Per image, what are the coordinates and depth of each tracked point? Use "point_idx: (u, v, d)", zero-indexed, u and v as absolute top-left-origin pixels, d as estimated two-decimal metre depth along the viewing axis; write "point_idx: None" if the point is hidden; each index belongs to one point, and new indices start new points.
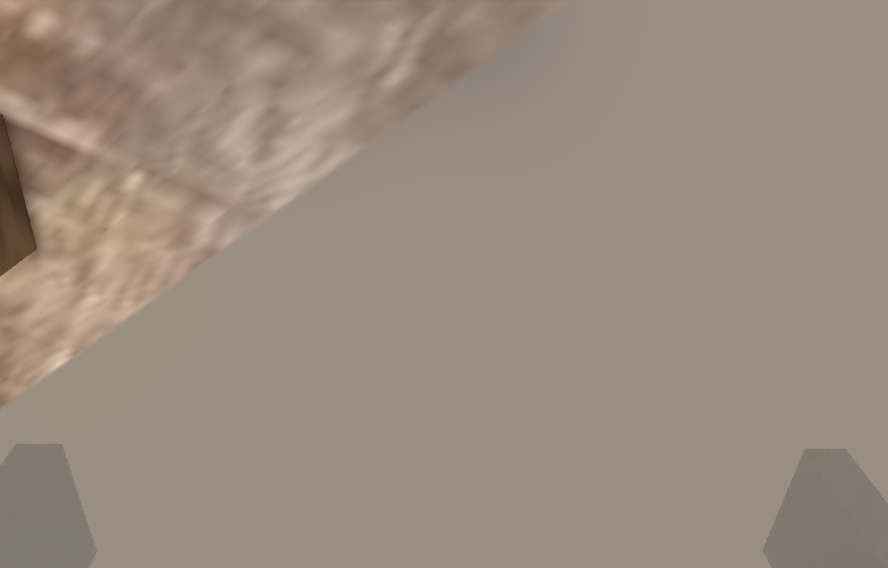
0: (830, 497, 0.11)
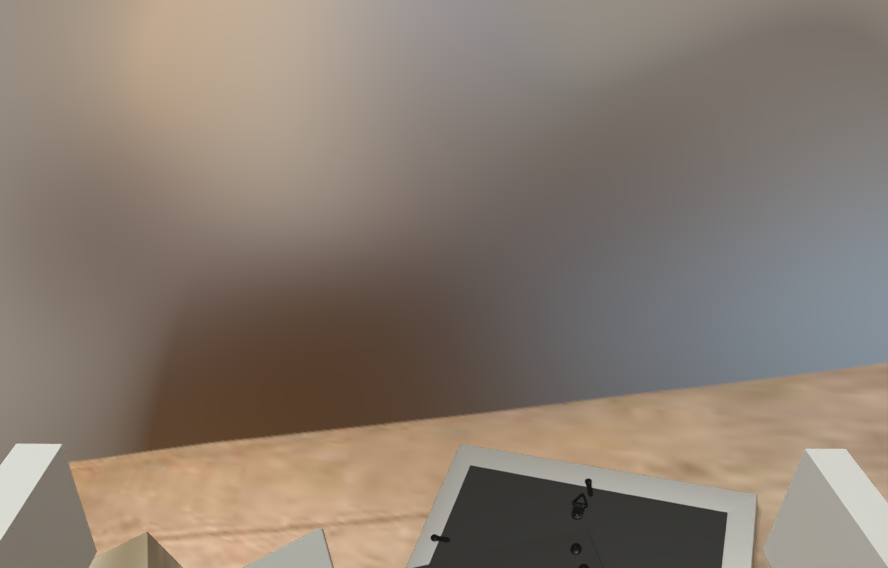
0: (830, 497, 0.11)
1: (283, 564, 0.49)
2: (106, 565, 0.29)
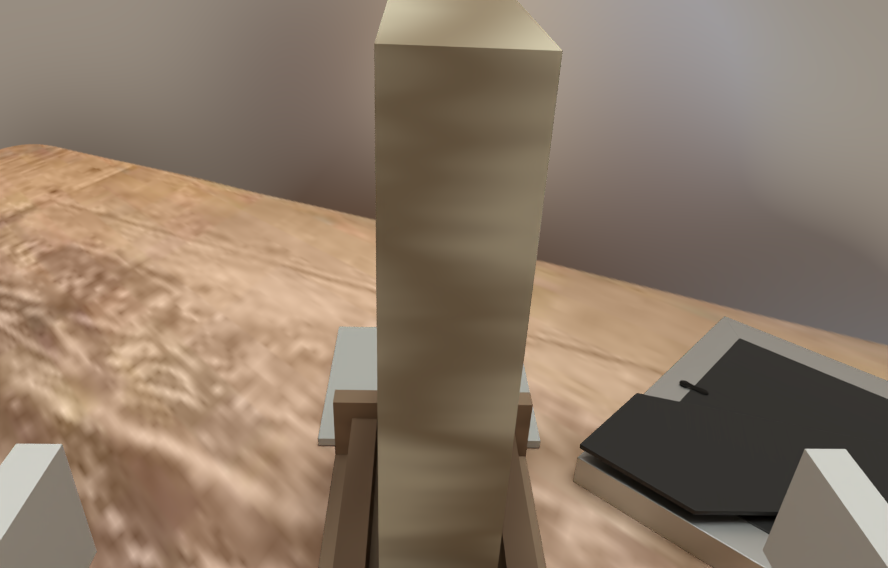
0: (829, 497, 0.11)
1: None
2: None
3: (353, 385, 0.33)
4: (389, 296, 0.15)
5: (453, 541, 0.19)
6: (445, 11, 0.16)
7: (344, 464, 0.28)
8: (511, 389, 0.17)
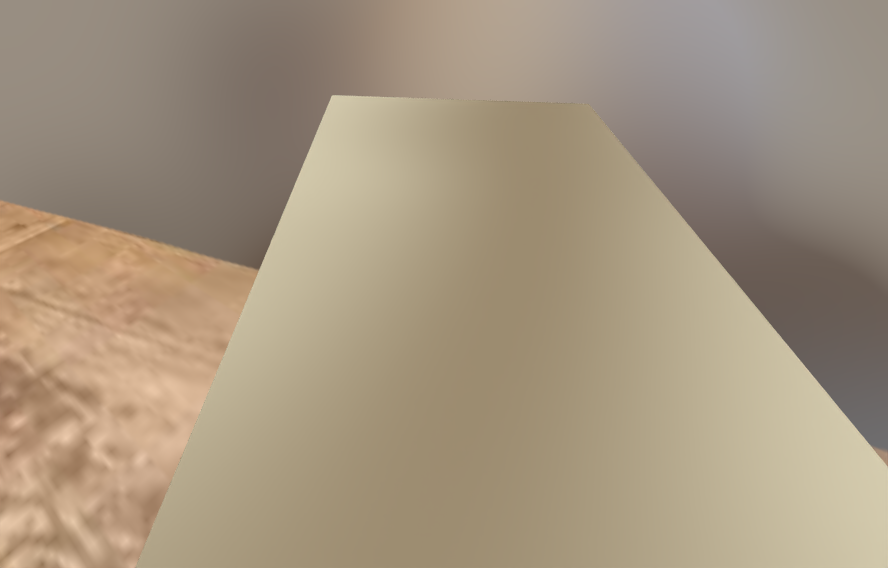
0: None
1: None
2: (456, 114, 0.09)
3: None
4: None
5: None
6: (449, 187, 0.06)
7: None
8: None
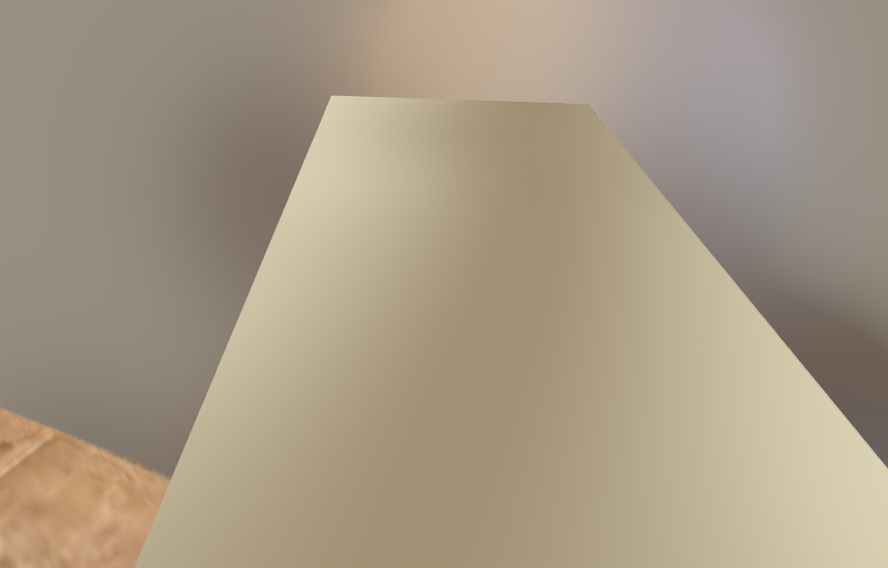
0: None
1: None
2: (456, 114, 0.09)
3: None
4: None
5: None
6: (449, 187, 0.06)
7: None
8: None
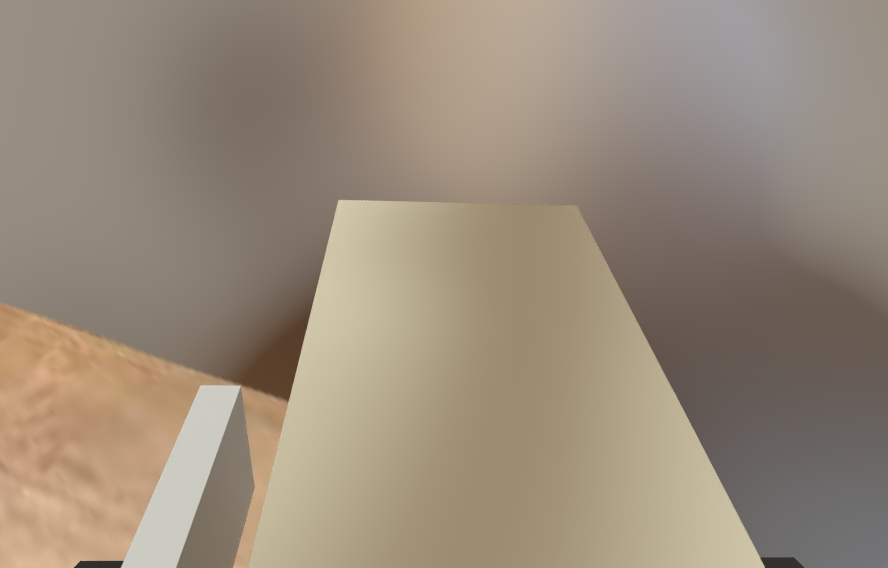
0: None
1: None
2: (454, 223, 0.09)
3: None
4: None
5: None
6: (447, 322, 0.07)
7: None
8: None
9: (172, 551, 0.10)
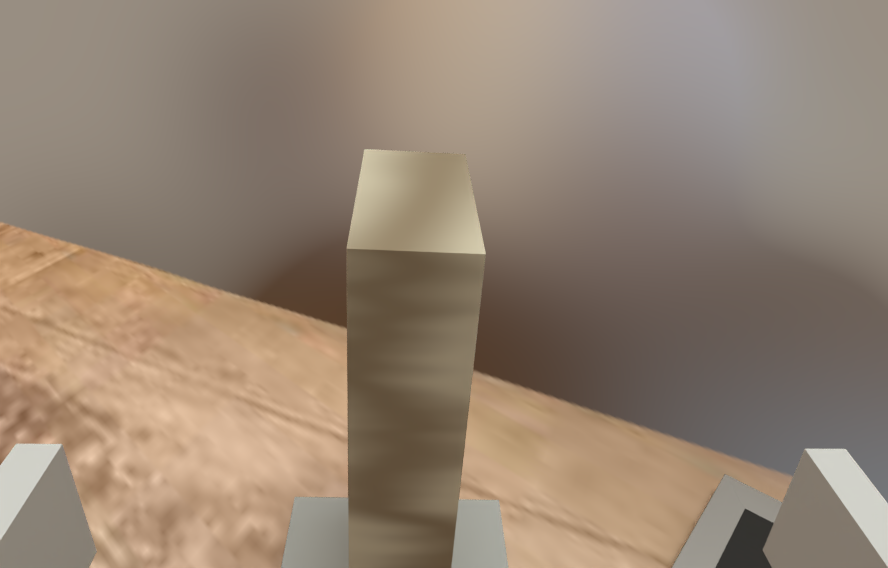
0: (830, 497, 0.11)
1: None
2: (412, 158, 0.23)
3: None
4: (357, 415, 0.20)
5: None
6: (405, 186, 0.21)
7: None
8: (454, 481, 0.21)
9: None
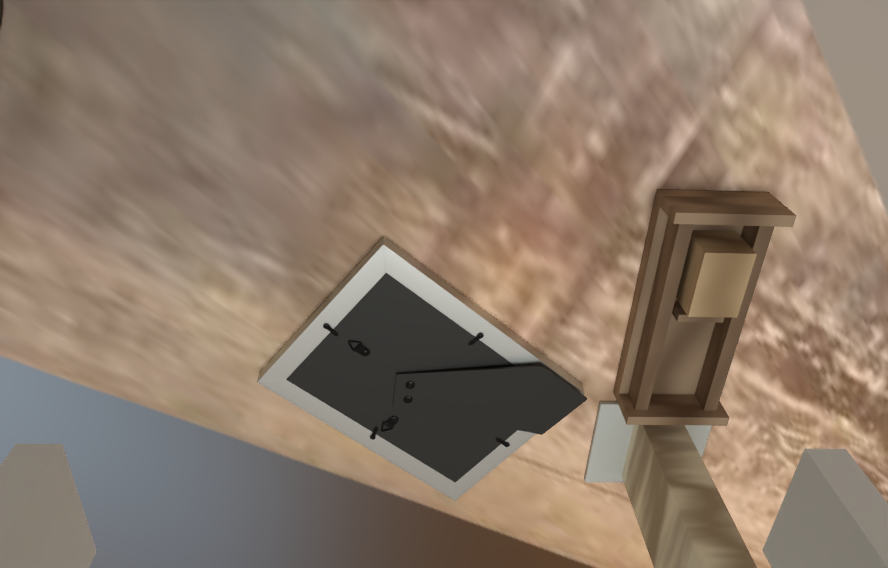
0: (830, 497, 0.11)
1: None
2: None
3: (693, 438, 0.58)
4: (735, 534, 0.46)
5: (670, 448, 0.53)
6: None
7: None
8: (679, 504, 0.48)
9: None
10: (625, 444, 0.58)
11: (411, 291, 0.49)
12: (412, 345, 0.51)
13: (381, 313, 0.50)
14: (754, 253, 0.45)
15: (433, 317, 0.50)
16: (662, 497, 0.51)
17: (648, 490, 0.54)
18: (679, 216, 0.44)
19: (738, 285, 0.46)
